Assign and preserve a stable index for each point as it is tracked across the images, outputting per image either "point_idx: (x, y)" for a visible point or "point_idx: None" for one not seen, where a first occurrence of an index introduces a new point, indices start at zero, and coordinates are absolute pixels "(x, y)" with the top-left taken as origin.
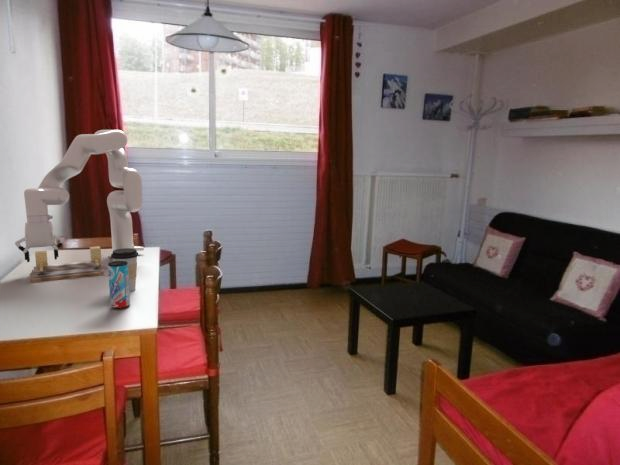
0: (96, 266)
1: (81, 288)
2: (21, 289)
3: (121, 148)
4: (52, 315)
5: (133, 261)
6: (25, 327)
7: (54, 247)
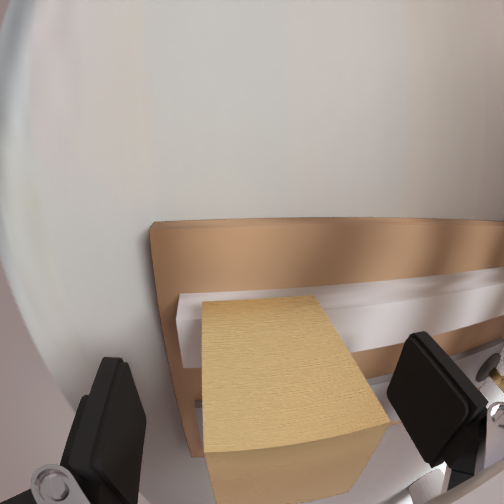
0: (491, 378)
1: (358, 486)
2: (180, 484)
3: None
4: None
5: None
6: None
7: (451, 488)
